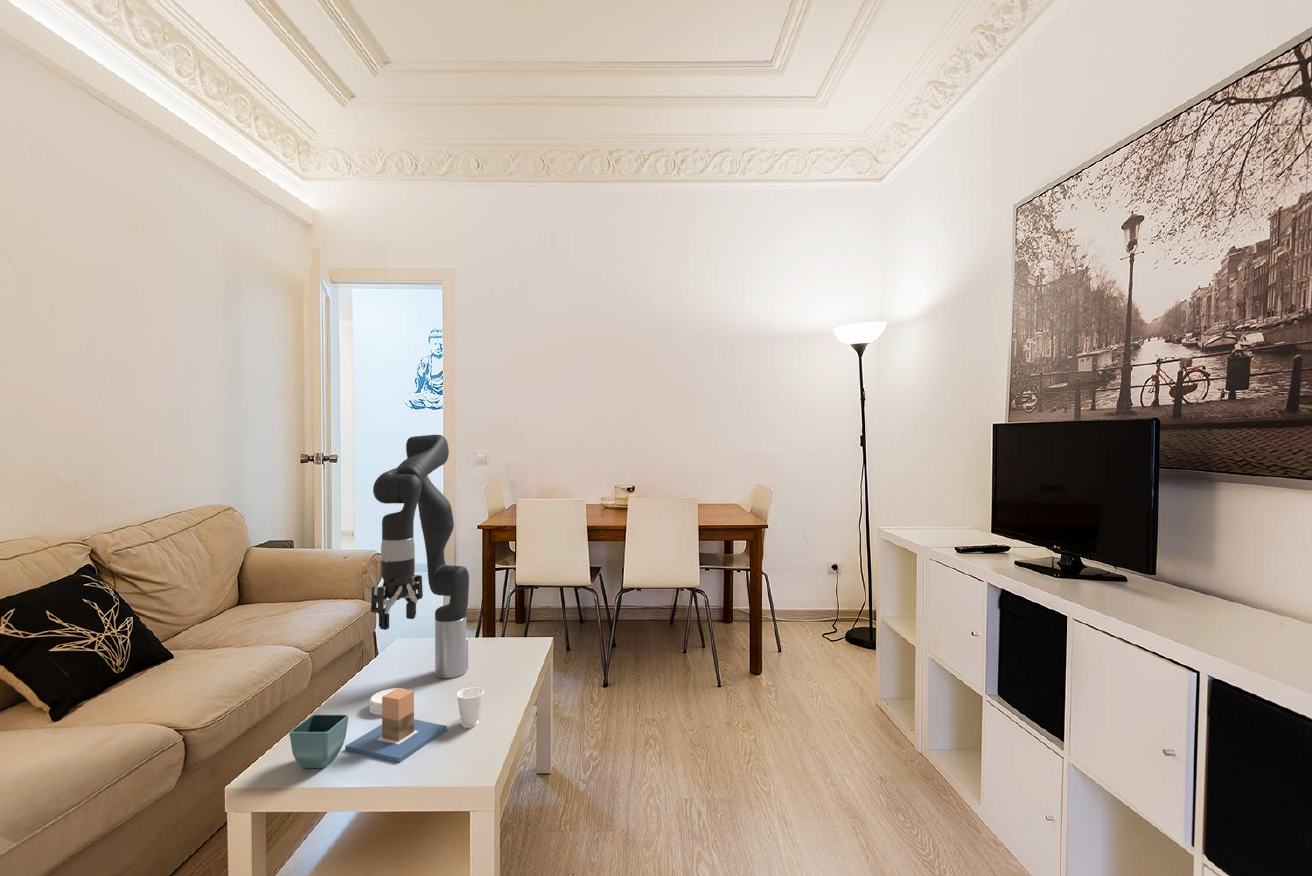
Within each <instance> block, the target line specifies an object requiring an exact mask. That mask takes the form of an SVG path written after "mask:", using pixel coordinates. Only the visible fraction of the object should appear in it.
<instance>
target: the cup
mask: <svg viewBox="0 0 1312 876" xmlns="http://www.w3.org/2000/svg"><path fill="white" fill-rule="evenodd" d="M484 697H485V691H484V688H481V687H478V686H477V687H476V686H471V687H466V688H462V689H461V690H459V691H457V692H456V698H457V702H458V710H459V717H460V720H461V727H462V728H466V729H470V728H475V727H477V726H478V725H479V724H480V719H481V718H480V717H481V716H482V715H481V714H482V711H483V702H484Z"/></svg>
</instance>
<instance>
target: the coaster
mask: <svg viewBox="0 0 1312 876" xmlns="http://www.w3.org/2000/svg"><path fill="white" fill-rule="evenodd" d="M397 688H399V687H397ZM397 688H396V687H395V688H388V689H384V690H381V691H378V692H375V693H374V694H373V695H371V697H370V698H369V702H368V705H369V709H368V711H369V714H372V715H374V716H380V717H382V696H384V695H386V694H388V693H390V692H392V691H393V690H395V689H397ZM399 689H402V688H399Z"/></svg>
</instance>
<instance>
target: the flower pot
mask: <svg viewBox="0 0 1312 876" xmlns="http://www.w3.org/2000/svg"><path fill="white" fill-rule="evenodd" d="M349 717H350V716H349V714H333V713H332V714H320V713H319V714H311V715H310V716H308V717H307V718H305V719H304V720H303V721H302V722H301V723H299V724H297V725H296V726H295V727H293V728H292V729H290V731H288V733H289V740H290V747H291V753H292V755H293V757H294V760H295V761H296V762H297V764H298V765H300V767H301V768H303V769H324V768H326V767H328V765H329V764H330V763H332V762H333V761H334V760H335V759H336V758H337V757H338V755H339V753H340V751H341V750H342V749H343V748H342V747H343V746H344V743H345V740H346V737H347V731H348V723H349Z"/></svg>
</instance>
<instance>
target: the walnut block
mask: <svg viewBox="0 0 1312 876" xmlns="http://www.w3.org/2000/svg"><path fill="white" fill-rule="evenodd" d="M381 719H382V720H381V725H382V738H384V739H389V740H394V741H398V742H399V741H401V740H402V739H404V738H405V737H407V736H408V735H410V734H411V733H413V732H414V719H415V711H414V712H412V713H411V714H409V715H407V716H406V717H404V718H402V719H401V720H399V721H398V720H393V719H388V718H383V717H382V716H381Z"/></svg>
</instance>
